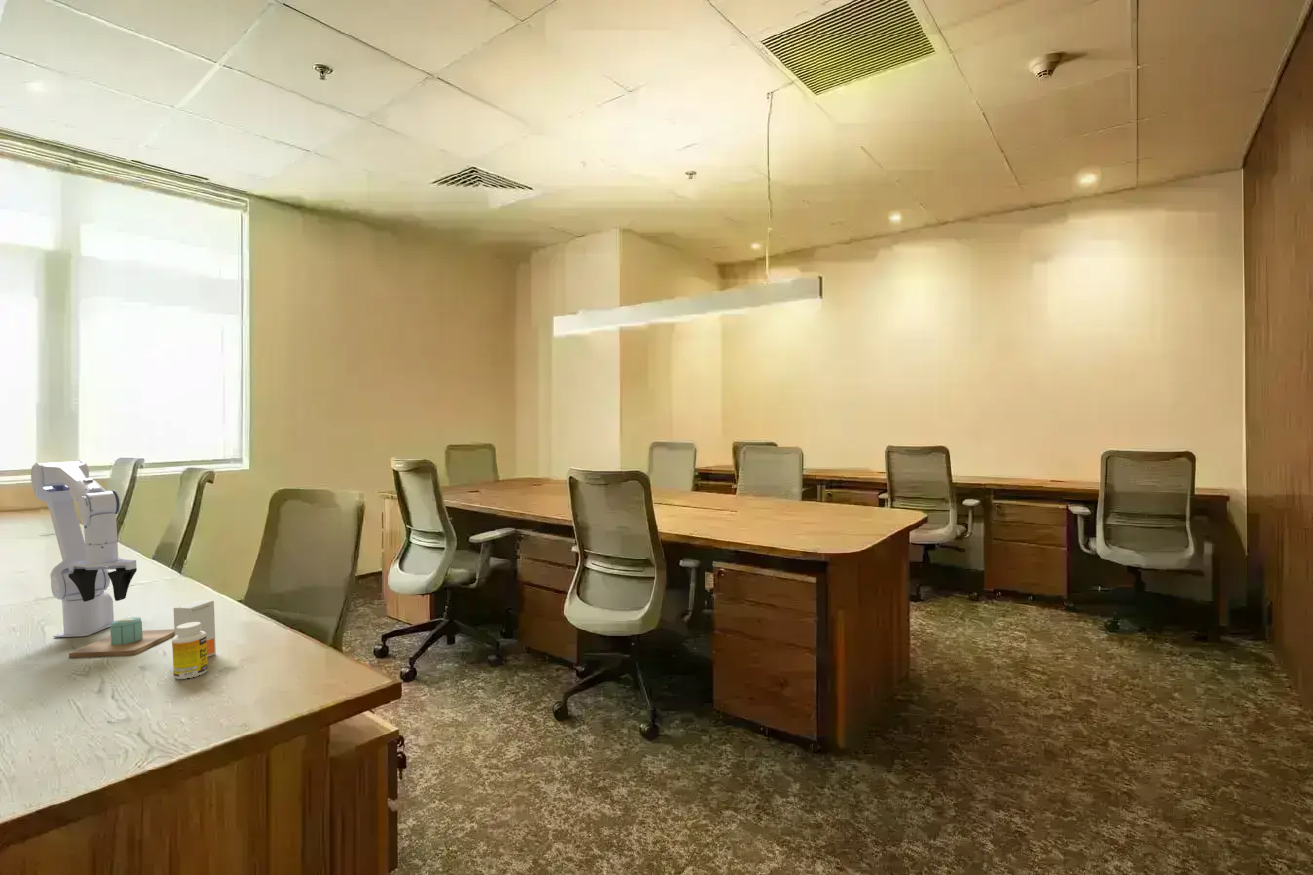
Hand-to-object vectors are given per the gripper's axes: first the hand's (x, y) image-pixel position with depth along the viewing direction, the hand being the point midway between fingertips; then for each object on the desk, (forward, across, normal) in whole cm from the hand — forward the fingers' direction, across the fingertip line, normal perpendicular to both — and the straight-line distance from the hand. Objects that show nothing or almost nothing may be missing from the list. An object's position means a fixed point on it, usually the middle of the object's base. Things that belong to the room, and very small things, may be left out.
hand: (104, 599), depth 147 cm
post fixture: (+10, -7, +2) cm, 12 cm away
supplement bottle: (+10, -36, +21) cm, 43 cm away
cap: (+9, -7, +3) cm, 12 cm away
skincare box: (+10, -31, +12) cm, 35 cm away
